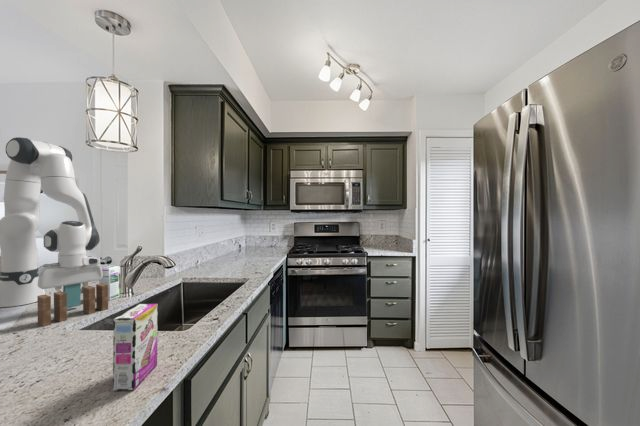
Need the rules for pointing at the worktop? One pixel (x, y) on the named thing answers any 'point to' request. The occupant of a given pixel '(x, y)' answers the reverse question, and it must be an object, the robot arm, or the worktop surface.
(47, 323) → the domino
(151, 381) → the worktop surface
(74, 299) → the domino
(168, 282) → the worktop surface
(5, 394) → the worktop surface
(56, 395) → the worktop surface
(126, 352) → the candy bar box
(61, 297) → the domino
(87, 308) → the domino
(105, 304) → the domino
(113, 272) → the syrup box
